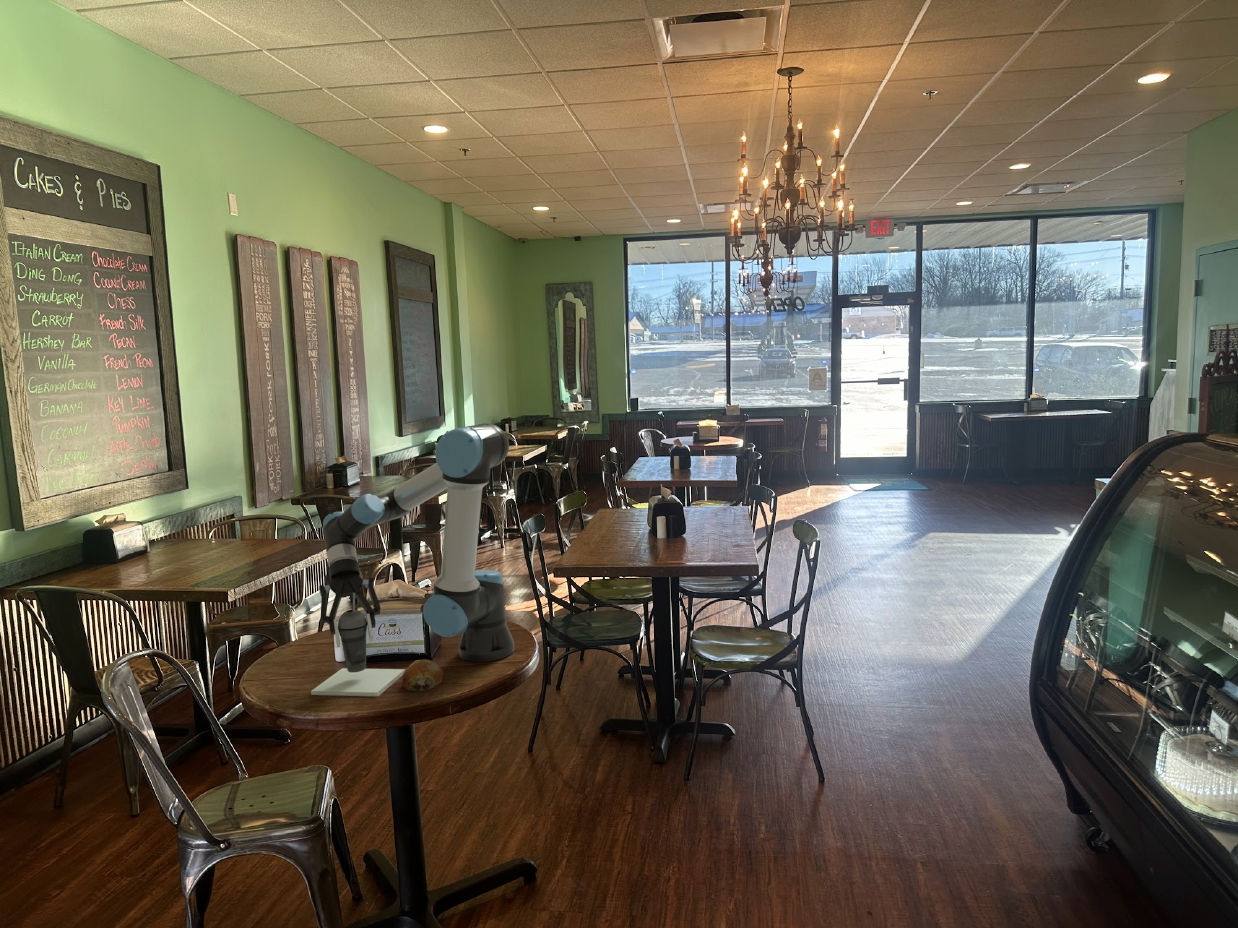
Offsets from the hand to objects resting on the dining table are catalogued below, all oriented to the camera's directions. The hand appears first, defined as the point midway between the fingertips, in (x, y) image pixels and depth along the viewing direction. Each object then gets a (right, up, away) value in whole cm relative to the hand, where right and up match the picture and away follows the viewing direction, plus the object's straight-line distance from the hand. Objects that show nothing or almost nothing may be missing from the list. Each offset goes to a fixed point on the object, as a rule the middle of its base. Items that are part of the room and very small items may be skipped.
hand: (355, 641), depth 205 cm
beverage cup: (-1, -8, +5) cm, 10 cm away
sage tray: (0, -12, +5) cm, 13 cm away
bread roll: (+17, -11, +2) cm, 20 cm away
